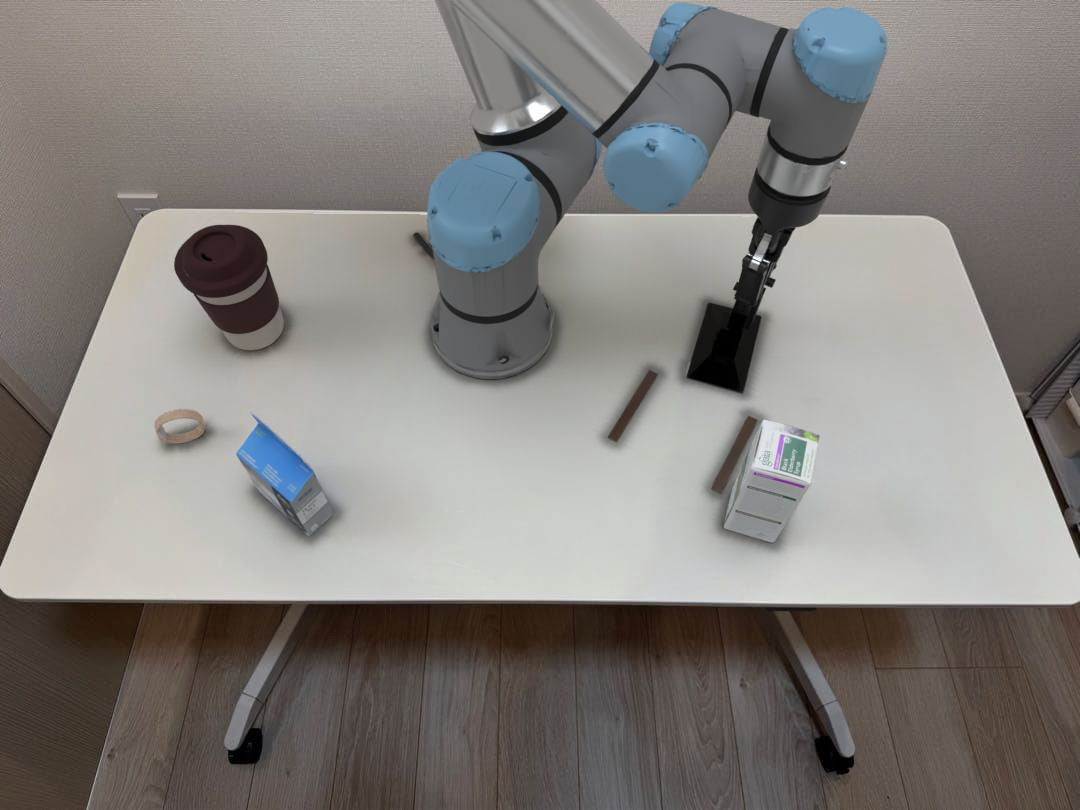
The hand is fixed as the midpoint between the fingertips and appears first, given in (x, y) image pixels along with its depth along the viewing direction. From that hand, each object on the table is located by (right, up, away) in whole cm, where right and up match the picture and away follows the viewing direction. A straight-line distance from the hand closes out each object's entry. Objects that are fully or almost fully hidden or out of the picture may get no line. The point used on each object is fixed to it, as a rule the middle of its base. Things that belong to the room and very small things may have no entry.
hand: (740, 321), depth 96 cm
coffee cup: (-61, -1, +2) cm, 61 cm away
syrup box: (-2, -22, -12) cm, 25 cm away
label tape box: (-52, -21, -11) cm, 57 cm away
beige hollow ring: (-66, -14, -7) cm, 68 cm away
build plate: (-2, -3, 0) cm, 4 cm away
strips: (-8, -13, -6) cm, 17 cm away
